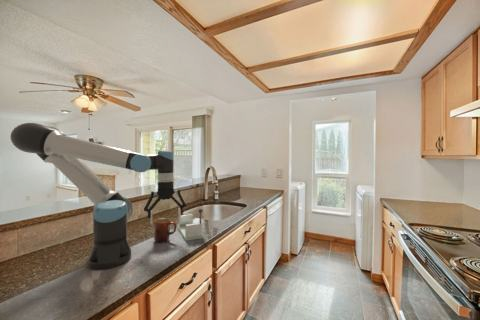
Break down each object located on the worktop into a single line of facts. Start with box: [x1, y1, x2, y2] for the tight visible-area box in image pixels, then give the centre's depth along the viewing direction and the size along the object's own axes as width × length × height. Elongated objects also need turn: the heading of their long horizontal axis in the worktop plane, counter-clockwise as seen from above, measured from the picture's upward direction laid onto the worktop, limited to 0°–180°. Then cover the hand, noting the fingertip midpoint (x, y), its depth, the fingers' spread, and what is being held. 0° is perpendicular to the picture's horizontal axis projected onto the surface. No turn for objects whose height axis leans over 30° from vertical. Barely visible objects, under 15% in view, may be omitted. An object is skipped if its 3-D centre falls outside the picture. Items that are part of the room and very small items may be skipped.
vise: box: [176, 208, 204, 242], centre depth 115 cm, size 10×22×15 cm, turn 27°
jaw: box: [178, 213, 194, 226], centre depth 126 cm, size 8×8×6 cm
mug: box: [152, 217, 178, 244], centre depth 103 cm, size 12×9×10 cm
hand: (165, 222), depth 103 cm, fingers open, 13 cm apart
